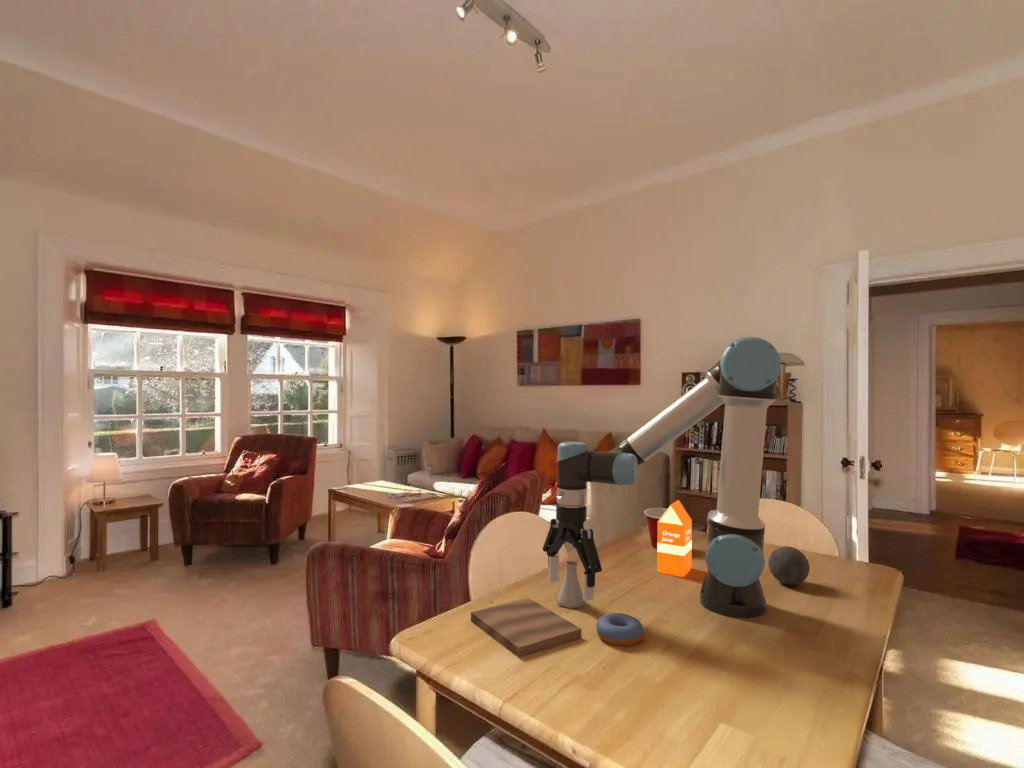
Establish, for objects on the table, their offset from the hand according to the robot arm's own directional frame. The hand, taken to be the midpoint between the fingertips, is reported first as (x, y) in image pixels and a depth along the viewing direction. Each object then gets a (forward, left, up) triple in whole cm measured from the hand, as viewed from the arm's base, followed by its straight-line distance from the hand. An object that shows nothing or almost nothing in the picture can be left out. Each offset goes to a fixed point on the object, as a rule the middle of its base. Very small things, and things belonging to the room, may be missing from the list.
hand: (570, 590), depth 136 cm
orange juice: (+3, -41, -3) cm, 41 cm away
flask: (0, 0, -3) cm, 3 cm away
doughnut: (-20, +3, -4) cm, 21 cm away
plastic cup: (+21, -55, -3) cm, 59 cm away
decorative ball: (-21, -59, -3) cm, 63 cm away
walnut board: (-6, +18, -3) cm, 19 cm away
